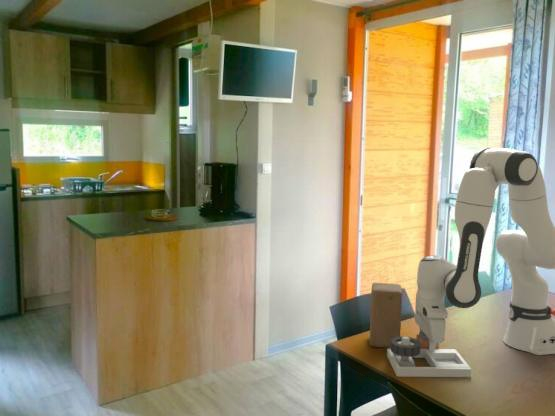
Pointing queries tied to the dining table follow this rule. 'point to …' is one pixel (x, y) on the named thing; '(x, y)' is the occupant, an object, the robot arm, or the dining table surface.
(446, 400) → the dining table surface
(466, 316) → the dining table surface
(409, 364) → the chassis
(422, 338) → the two-tone grey-capped cube
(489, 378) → the dining table surface
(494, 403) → the dining table surface
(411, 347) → the wheel
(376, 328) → the wooden block
